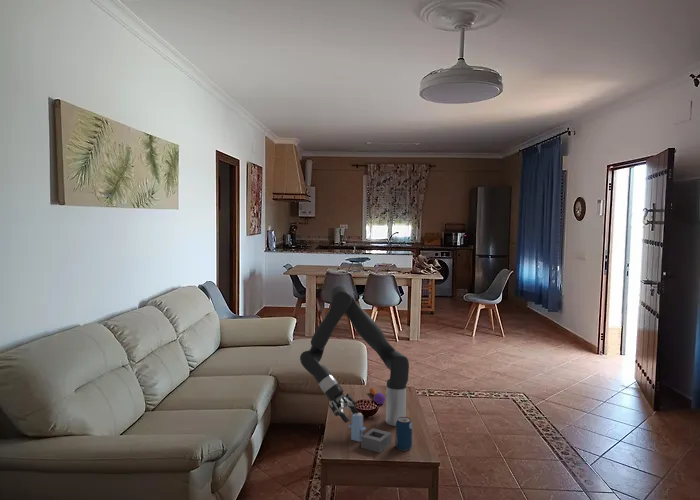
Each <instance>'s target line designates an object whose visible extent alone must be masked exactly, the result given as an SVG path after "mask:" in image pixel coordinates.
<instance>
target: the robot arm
mask: <svg viewBox="0 0 700 500" xmlns="http://www.w3.org/2000/svg"><path fill="white" fill-rule="evenodd" d="M330 301H331V303H330V305H329V306H330V307H329V310H328V312H327V313H326V316H325V317H324V319H323V320H322V321H321V322H320V324H319V325H318V327H316V330H315V332H314V334H313V335H312V337H311V339H310V345H311V346H310V349H309V350H305V351H302V352H301V353H300V356H299V361H300V364H301V365H302V367H303V368H304V369H305V370H306V371H307V372H308V373H309V374H310V375H312V377H314V379H315V381H316V382H317V384H318V386H319V387H320V390H322V392H323V393H324V395H325V396H326V398H327V399H328V401H329V402H330V403H329V404H328V406H329V408H330V410H331V411H332V413H333V414H334V416H335V417H338V416H339V417H340V418H341V420H342V421H343V422H344V423H345V424H347V423H348V422H349V421H350V420H349V417H348V416H347V415H346V413H345V412H344V408H346V409H347V408H348V409H349V410H350V412H351V413H352V415H353V414H355V413H356V414H357V413H359V411H358V409H357V408H356V405H357V403H356V401H355V400H354V398H353V397H352V396H351V394H350V393H346V394H344V389H343V387H341V385H340V384H339V382H338V380H337V379H336V378H335V377H334V376H333V374H332V373H331V372H330V371H329V369H328V367H327V366H326V365H322V364H321V363H320V361H321V360H322V359H323V354H324V351H325V347H326V345H327V343H328V341H329V340H330V338H331V335H332V334H333V332H334V330H335V328H336V326H337V325H338V323H339V321H340V320H341V319H342V317H343V316H344V314H345V315H346V316H347V318H348V320H349V321H350V323H351V324H352V326H353V328H354V329H355V331H356V333H358V335H359V336H360V337H361V338H362V339H363V341H365V343H366V344H367V345H368V346H369V347H370V348H372V350H374V352H375V353H377V355H378V356H379V358H380V359H381V361H382V362H383V364H384V365H385V367H386V368H387V369H388V370H390V373H389V374H390V376H389V378H388V379H387V380H386V393H385V394H386V396H385V401H386V405H385V423H386V424H387V425H388V426H392V427H396V421H397V419H398V418H399V417H406V413H407V411H406V409H407V406H406V405H407V403H406V402H407V385H408V381H409V372H410V363H409V358H408V357H407V356H406V355H404V354H402V353H401V352H399V351H398V350H396V349H395V348H394V346H392V345H391V344H390V342H389V341H388V340H387V338H386V336H385V334H384V333H383V330H382V329H381V328H380V326H379V325H378V324H377V323H376V322H375V321H374V319H373V318H372V317H371V316H370V315H369V314H368V313H367V312H366V311H365V310H364V309H363V308H362V307H361V306H360V305H359V304H358V302H357V301H356V299H355V298H354V296H353V295H352V293H351V292H350V290H349V289H348V288H347V287H345V286H342V285H338V286H335V287H333V288H332V290H331V291H330Z"/></svg>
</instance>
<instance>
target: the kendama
mask: <svg viewBox="0 0 700 500" xmlns="http://www.w3.org/2000/svg"><path fill="white" fill-rule="evenodd" d="M369 393H370V395H373V402H374V403H375V402H376V403H378V404H379V405H383V404H384V403H385V401H386V396H385V395H384V394H383V393H382V392H377V391H376V388H374V387H370V388H369ZM376 403H375V404H376ZM378 404H377V405H378Z"/></svg>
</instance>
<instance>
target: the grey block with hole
mask: <svg viewBox="0 0 700 500" xmlns="http://www.w3.org/2000/svg"><path fill="white" fill-rule="evenodd" d="M360 442H361V443H360V444H361V445H360V446H361V447H360V448H362V449H365V450H367V451H371V452H375V453H379V454H382V452H384V451H385V450H386V449H387V448H389V446H391V445H392V432H390V431H389V432H388V431H385V430H382V429H378V428H370V430H368V431H367V432H365V433H363V436H361V441H360Z"/></svg>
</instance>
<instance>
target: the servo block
mask: <svg viewBox="0 0 700 500" xmlns="http://www.w3.org/2000/svg"><path fill="white" fill-rule="evenodd" d="M347 427H348V428H350V429H351V432H350V433H351V434H350V435H351V436H350V437H351V438H350V440H352V441H355V442H361V436H363V435H364V431H366V430H367V427H365V426H364V415H363V413H362V412H358V413H357V414H356V413H355V414H353V413H352V414H351V423H350V424H348V426H347Z"/></svg>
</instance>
